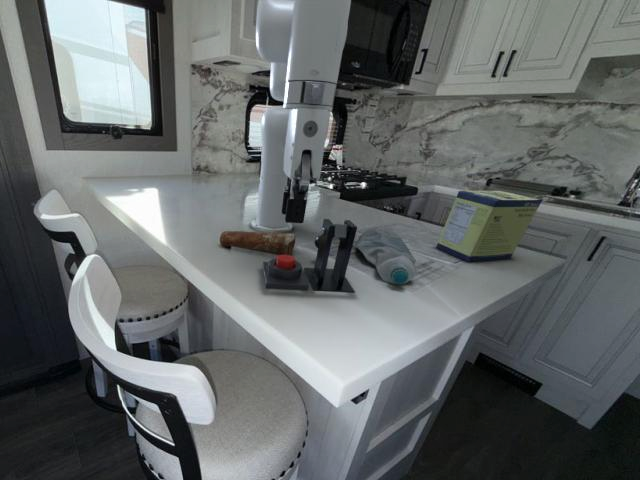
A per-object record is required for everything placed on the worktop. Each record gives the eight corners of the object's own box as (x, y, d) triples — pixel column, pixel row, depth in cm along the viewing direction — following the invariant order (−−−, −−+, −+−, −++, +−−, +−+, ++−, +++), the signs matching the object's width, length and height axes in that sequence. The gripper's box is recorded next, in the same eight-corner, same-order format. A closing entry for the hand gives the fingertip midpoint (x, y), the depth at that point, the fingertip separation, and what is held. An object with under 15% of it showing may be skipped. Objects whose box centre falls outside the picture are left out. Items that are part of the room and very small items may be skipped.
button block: (261, 270, 66) (263, 253, 64) (298, 272, 67) (301, 255, 65) (265, 293, 58) (267, 274, 56) (306, 295, 58) (310, 276, 56)
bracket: (302, 272, 67) (312, 214, 60) (338, 274, 67) (352, 216, 60) (311, 295, 58) (325, 230, 52) (353, 297, 58) (371, 232, 52)
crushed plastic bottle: (350, 246, 82) (356, 286, 61) (359, 220, 79) (369, 253, 57) (401, 257, 80) (425, 302, 59) (412, 231, 77) (443, 269, 55)
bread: (291, 261, 72) (294, 238, 69) (216, 248, 77) (216, 226, 74) (295, 252, 77) (299, 230, 74) (225, 240, 82) (226, 219, 79)
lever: (312, 250, 69) (313, 236, 68) (326, 251, 69) (327, 236, 69) (331, 239, 56) (332, 221, 56) (348, 239, 56) (349, 222, 56)
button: (275, 262, 62) (276, 254, 61) (292, 262, 62) (293, 254, 61) (276, 269, 59) (278, 261, 58) (295, 270, 59) (296, 262, 58)
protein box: (511, 258, 81) (544, 199, 73) (467, 262, 77) (497, 199, 69) (475, 244, 90) (501, 190, 82) (434, 247, 86) (457, 190, 78)
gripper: (350, 96, 39) (323, 234, 48) (320, 102, 54) (303, 207, 63) (292, 93, 39) (276, 232, 48) (278, 100, 53) (267, 205, 63)
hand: (291, 217), depth 56 cm, fingers open, 4 cm apart
